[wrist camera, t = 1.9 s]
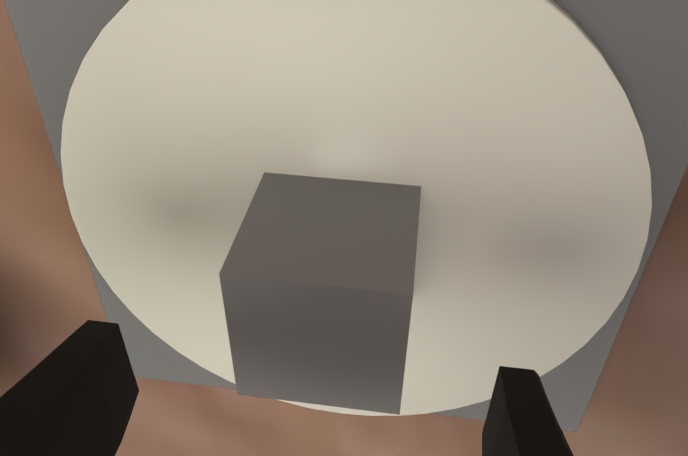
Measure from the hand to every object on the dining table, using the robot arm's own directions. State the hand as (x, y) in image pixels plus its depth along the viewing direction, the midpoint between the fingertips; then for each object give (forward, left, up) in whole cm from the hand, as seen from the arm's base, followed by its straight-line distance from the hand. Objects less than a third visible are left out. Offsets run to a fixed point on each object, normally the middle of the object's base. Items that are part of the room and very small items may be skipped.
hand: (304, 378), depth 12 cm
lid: (0, 0, -5) cm, 5 cm away
